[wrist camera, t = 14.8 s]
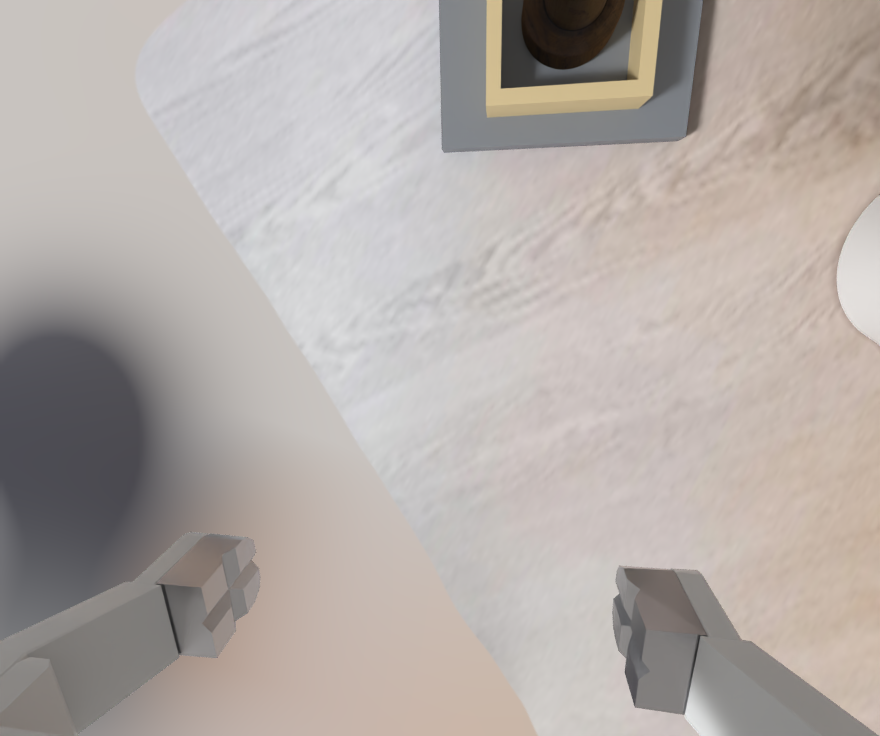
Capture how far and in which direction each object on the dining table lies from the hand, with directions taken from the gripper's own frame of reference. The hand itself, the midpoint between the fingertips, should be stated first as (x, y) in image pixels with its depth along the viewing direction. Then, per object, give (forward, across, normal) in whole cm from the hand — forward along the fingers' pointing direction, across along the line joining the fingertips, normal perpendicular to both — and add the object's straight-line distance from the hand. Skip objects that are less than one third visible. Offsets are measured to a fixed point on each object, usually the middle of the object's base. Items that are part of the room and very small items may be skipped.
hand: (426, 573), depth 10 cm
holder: (+31, -6, -22) cm, 38 cm away
